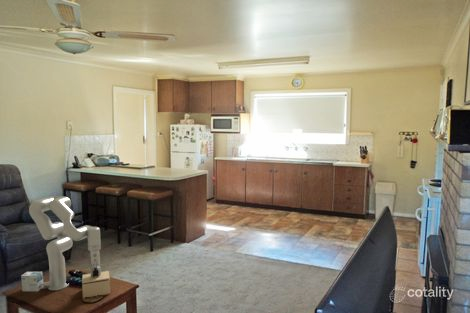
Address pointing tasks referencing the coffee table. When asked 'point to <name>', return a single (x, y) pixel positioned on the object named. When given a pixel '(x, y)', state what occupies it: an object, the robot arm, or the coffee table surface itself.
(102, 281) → the carton
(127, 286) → the coffee table surface
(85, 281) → the carton flap
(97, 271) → the robot arm
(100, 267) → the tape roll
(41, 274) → the light bulb box
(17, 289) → the coffee table surface
